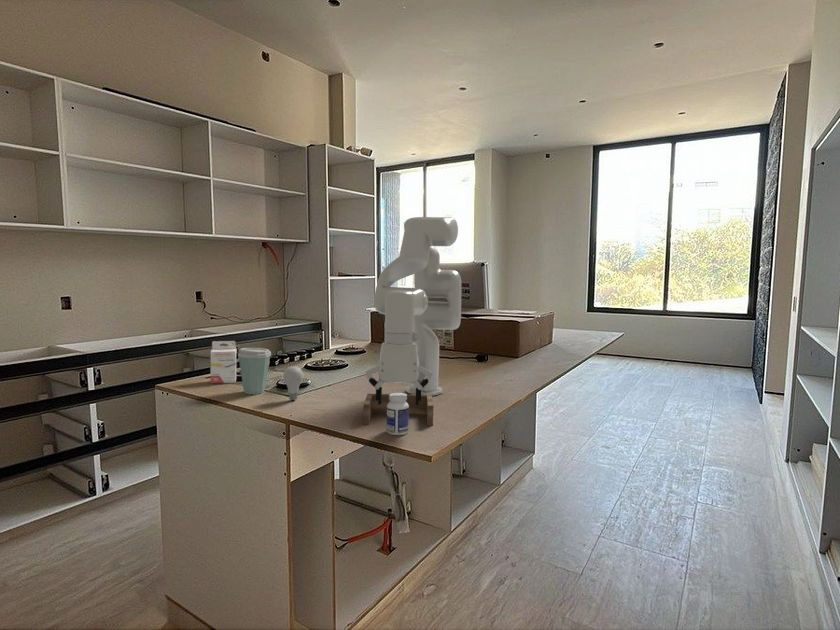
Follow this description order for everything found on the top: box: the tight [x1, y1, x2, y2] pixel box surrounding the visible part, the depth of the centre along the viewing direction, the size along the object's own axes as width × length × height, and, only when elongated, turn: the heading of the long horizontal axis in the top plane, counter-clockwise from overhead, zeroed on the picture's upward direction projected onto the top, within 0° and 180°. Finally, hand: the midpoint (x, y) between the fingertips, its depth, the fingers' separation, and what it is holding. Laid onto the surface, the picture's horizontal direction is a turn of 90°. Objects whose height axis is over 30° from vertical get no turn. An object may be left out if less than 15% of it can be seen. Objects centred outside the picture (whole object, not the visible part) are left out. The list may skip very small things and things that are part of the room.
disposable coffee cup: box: [237, 347, 272, 395], centre depth 159 cm, size 11×11×15 cm
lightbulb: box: [282, 365, 304, 401], centre depth 151 cm, size 6×6×11 cm
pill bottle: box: [386, 392, 410, 436], centre depth 124 cm, size 6×6×10 cm
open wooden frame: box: [362, 393, 434, 426], centre depth 135 cm, size 12×19×6 cm, turn 91°
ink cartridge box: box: [210, 340, 237, 385], centre depth 173 cm, size 9×5×15 cm, turn 108°
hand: (398, 403), depth 124 cm, fingers open, 9 cm apart
